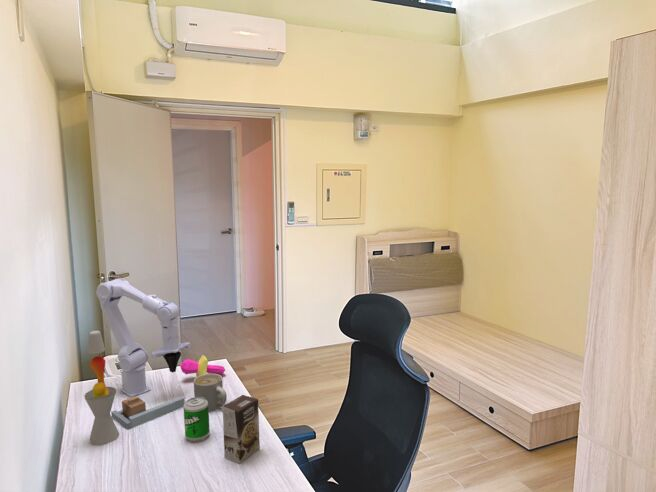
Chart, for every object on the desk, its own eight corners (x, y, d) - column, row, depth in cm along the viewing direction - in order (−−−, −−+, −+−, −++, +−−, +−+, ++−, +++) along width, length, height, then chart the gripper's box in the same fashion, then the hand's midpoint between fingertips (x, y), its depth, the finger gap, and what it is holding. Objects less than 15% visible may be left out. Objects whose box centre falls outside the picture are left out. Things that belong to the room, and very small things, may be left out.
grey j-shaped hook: (111, 417, 163) (111, 409, 163) (167, 395, 179) (167, 388, 178) (127, 429, 155) (126, 420, 155) (184, 406, 171) (184, 398, 170)
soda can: (202, 427, 156) (200, 393, 154) (214, 436, 151) (212, 401, 149) (180, 436, 151) (178, 401, 149) (192, 446, 146) (190, 409, 144)
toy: (225, 382, 191) (229, 356, 195) (180, 378, 183) (184, 351, 187) (218, 383, 200) (221, 358, 203) (175, 379, 192) (179, 353, 195)
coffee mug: (190, 405, 171) (188, 379, 169) (214, 396, 178) (212, 371, 176) (209, 419, 162) (207, 391, 160) (234, 408, 168) (232, 382, 167)
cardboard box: (123, 417, 164) (121, 398, 162) (137, 411, 167) (135, 393, 166) (132, 424, 159) (130, 404, 158) (146, 418, 162) (145, 399, 161)
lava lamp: (90, 433, 154) (80, 329, 148) (120, 427, 157) (111, 325, 151) (87, 447, 145) (76, 338, 140) (119, 441, 148) (109, 334, 143)
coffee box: (240, 464, 136) (237, 411, 134) (223, 457, 140) (221, 406, 137) (260, 448, 144) (259, 398, 141) (244, 442, 147) (242, 393, 145)
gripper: (157, 344, 167) (159, 380, 169) (193, 333, 177) (195, 368, 179) (147, 339, 172) (150, 375, 174) (183, 329, 182) (186, 363, 184)
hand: (172, 371), depth 177 cm, fingers closed
